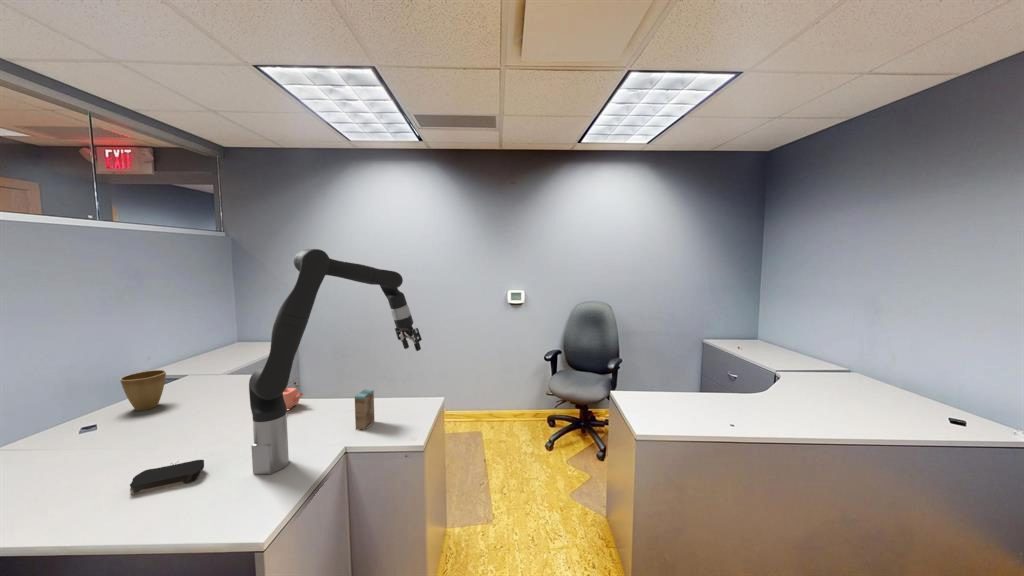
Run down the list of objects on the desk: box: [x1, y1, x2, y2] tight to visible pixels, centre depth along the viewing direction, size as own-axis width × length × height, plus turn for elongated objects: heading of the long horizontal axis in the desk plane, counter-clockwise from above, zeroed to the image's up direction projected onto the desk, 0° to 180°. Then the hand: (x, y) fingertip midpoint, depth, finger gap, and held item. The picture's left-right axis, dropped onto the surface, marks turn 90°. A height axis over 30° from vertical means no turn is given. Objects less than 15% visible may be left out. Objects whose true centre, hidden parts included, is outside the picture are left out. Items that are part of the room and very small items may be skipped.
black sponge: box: [129, 459, 205, 496], centre depth 108 cm, size 16×8×4 cm, turn 115°
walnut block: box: [354, 389, 375, 431], centre depth 145 cm, size 8×4×14 cm, turn 175°
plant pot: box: [119, 369, 167, 411], centre depth 164 cm, size 15×15×16 cm
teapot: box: [283, 387, 304, 410], centre depth 163 cm, size 12×12×10 cm
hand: (412, 349), depth 155 cm, fingers open, 8 cm apart
